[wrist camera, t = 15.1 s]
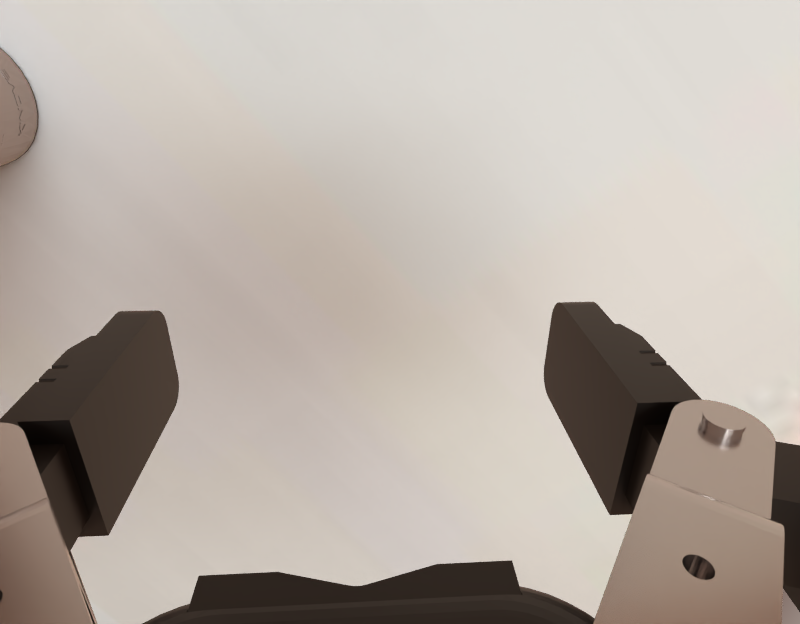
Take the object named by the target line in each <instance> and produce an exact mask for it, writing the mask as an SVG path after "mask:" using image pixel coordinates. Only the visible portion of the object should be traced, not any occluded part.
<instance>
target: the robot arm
mask: <svg viewBox="0 0 800 624" xmlns="http://www.w3.org/2000/svg"><path fill="white" fill-rule="evenodd" d="M36 129H37V109H36V103H35V99H34V96H33V94H32V91H31V88H30V86H29V84H28V82H27V80H26V79H25V77H24V75H23V73H22V72H21V70H20V69H19V68H18V66H17V65H16V64H15V63H14V62H13V60H12V59H11V58H10V57H9V56H8V55H7V54H6V53H5V52H4V51H2V50H1V49H0V166H2V165H5V164H8V163H10V162H12V161H14V160H16V159H18V158H19V157H20V156H22V155H23V154H24V153H25V152H26V151H27V150H28V148H29V147H30V145H31V143H32V142H33V140H34V136H35V133H36ZM544 382H545V388H546V392H547V395H548V397H549V399H550V401H551V403H552V405H553V407H554V409H555V411H556V413H557V415H558V417H559V419H560V420H561V422H562V424H563V426H564V428H565V430H566V432H567V434H568V436H569V438H570V440H571V442H572V443H573V445H574V447H575V449H576V451H577V453H578V455H579V457H580V459H581V461H582V463H583V465H584V467H585V468H586V470H587V472H588V474H589V476H590V478H591V480H592V482H593V484H594V486H595V488H596V490H597V492H598V493H599V495H600V497H601V499H602V501H603V503H604V505H605V507H606V509H607V511H608V513H609V515H620V514H632V517H631V520H630V522H629V525H628V528H627V531H626V534H625V536H624V539H623V542H622V545H621V547H620V550H619V553H618V556H617V559H616V561H615V564H614V567H613V570H612V572H611V575H610V578H609V581H608V584H607V586H606V589H605V592H604V595H603V597H602V600H601V603H600V606H599V609H598V611H597V614H596V617H595V618H593V617H592V616H590V615H589V614H587V613H586V612H584V611H582V610H580V609H579V608H577V607H575V606H573V605H571V604H569V603H568V602H565V601H563V600H561V599H558V598H556V597H554V596H551V595H549V594H546V593H542V592H539V591H536V590H533V589H529V588H525V587H520V586H519V584H518V580H517V577H516V573H515V570H514V566H513V563H512V561H493V562H473V563H452V564H436V565H433V566H429V567H426V568H422V569H419V570H415V571H412V572H409V573H405V574H402V575H398V576H395V577H391V578H388V579H385V580H381V581H378V582H374V583H371V584H368V585H363V586H348V585H343V584H337V583H332V582H327V581H322V580H317V579H311V578H306V577H301V576H296V575H290V574H285V573H280V572H268V573H248V574H227V575H207V576H199V577H198V580H197V583H196V587H195V590H194V593H193V596H192V599H191V603H190V604H188V605H184V606H181V607H178V608H176V609H173V610H171V611H168V612H166V613H163V614H161V615H159V616H157V617H155V618H153V619H151V620H149V621H147V622H145V623H143V624H782V599H783V589H784V590H785V592H786V593H787V594H788V596H789V597H790V599H791V600H792V602H793V603H794V604H795V606H796V607H797V609H798V610H799V612H800V446H799V445H793V444H787V443H781V442H776V441H775V438H774V436H773V434H772V432H771V431H770V429H769V428H768V427H767V426H766V425H765V424H764V423H762V422H761V421H760V420H759V419H757V418H756V417H754V416H752V415H751V414H749V413H747V412H745V411H743V410H741V409H738V408H736V407H734V406H731V405H728V404H724V403H720V402H716V401H710V400H702V399H701V398H700V397H699V396H698V395H697V394H696V393H695V392H694V391H693V390H692V389H691V388H690V387H689V386H688V384H687V383H686V382H685V381H684V380H683V379H682V378H681V377H680V376H679V375H678V374H677V373H676V372H675V371H674V370H673V369H672V368H671V367H670V365H666V361H665V360H664V359H663V358H662V357H661V356H660V355H659V354H658V353H655V350H654V349H653V348H652V346H651V345H650V344H649V343H648V342H647V341H646V340H645V339H644V338H643V337H642V336H641V335H639V334H637V333H635V332H633V331H632V330H630V329H628V328H626V327H625V326H623V325H621V324H614V323H613V322H612V320H611V319H610V318H609V317H608V316H607V315H606V314H605V313H604V311H603V310H602V309H601V308H600V307H599V306H598V305H597V304H596V303H595V302H564V303H557V304H556V305H555V307H554V309H553V312H552V318H551V325H550V331H549V338H548V345H547V352H546V359H545V365H544ZM178 392H179V381H178V374H177V370H176V365H175V360H174V356H173V351H172V346H171V342H170V337H169V332H168V328H167V323H166V320H165V317H164V315H163V314H162V313H161V312H160V311H120V312H118V313H117V314H115V316H114V317H113V318H112V319H111V320H110V321H109V322H108V323H107V324H106V325H105V326H104V328H103V329H102V330H101V331H100V332H99V333H98V334H97V335H96V336H91V337H89V338H87V339H85V340H84V341H82V342H80V343H78V344H77V345H75V346H73V347H71V348H70V349H68V350H67V351H66V352H65V353H64V354H63V355H62V356H61V357H60V358H59V359H58V360H57V361H56V362H55V363H54V364H53V365H52V369H48V370H47V371H46V372H45V373H44V374H43V375H42V376H41V377H40V379H39V382H36V383H35V384H34V385H33V386H32V387H31V388H30V389H29V390H28V391H27V392H26V393H25V394H24V395H23V396H22V397H21V398H20V399H19V400H18V401H17V402H16V403H15V404H14V405H13V406H12V407H11V408H10V410H9V411H8V412H7V413H6V414H5V415H4V416H3V417H2V418H1V419H0V624H97V621H96V618H95V615H94V613H93V610H92V607H91V604H90V602H89V599H88V596H87V594H86V591H85V588H84V585H83V583H82V580H81V577H80V574H79V572H78V569H77V566H76V564H75V561H74V558H73V556H72V553H71V551H70V550H71V549H72V547H73V545H74V543H75V542H76V540H77V538H78V537H84V536H106V535H109V533H110V532H111V530H112V528H113V526H114V524H115V522H116V520H117V518H118V516H119V514H120V512H121V510H122V508H123V507H124V505H125V503H126V501H127V499H128V497H129V495H130V493H131V491H132V489H133V487H134V485H135V483H136V482H137V480H138V478H139V476H140V474H141V472H142V470H143V468H144V466H145V464H146V462H147V460H148V458H149V456H150V455H151V453H152V451H153V449H154V447H155V445H156V443H157V441H158V439H159V437H160V435H161V433H162V431H163V430H164V428H165V426H166V424H167V422H168V420H169V418H170V416H171V414H172V412H173V410H174V408H175V406H176V403H177V399H178Z"/></svg>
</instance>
